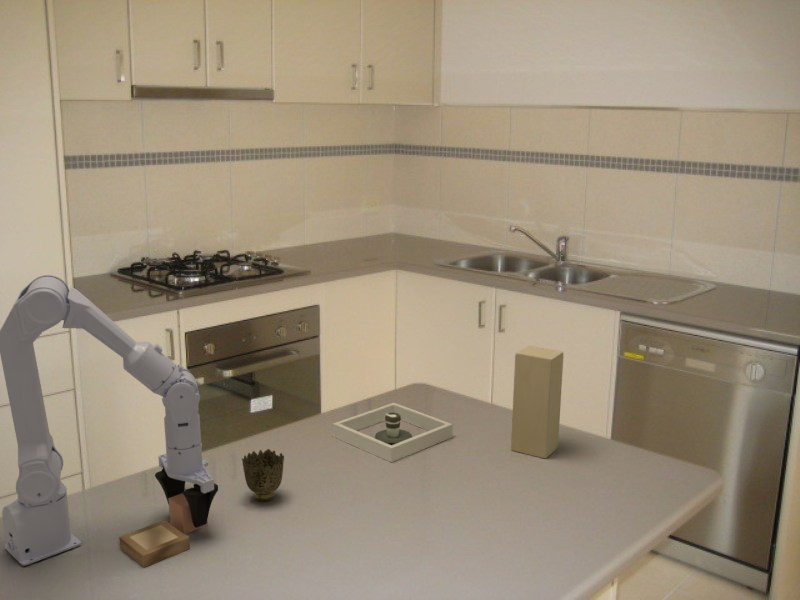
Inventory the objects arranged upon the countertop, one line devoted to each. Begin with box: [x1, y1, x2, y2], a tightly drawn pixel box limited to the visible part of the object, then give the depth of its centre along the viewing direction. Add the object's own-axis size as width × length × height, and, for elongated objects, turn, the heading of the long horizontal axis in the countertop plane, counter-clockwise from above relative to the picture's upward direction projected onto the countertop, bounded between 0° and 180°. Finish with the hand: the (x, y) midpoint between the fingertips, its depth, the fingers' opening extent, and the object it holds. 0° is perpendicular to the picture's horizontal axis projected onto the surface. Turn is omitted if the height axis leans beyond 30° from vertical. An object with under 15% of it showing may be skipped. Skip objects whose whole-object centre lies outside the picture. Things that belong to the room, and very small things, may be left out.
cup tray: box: [332, 402, 454, 463], centre depth 181 cm, size 18×18×3 cm
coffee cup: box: [375, 413, 412, 444], centre depth 181 cm, size 12×12×5 cm
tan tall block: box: [510, 345, 564, 459], centre depth 173 cm, size 8×7×21 cm
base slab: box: [118, 520, 191, 568], centre depth 137 cm, size 8×8×2 cm
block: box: [168, 493, 208, 535], centre depth 144 cm, size 4×4×5 cm
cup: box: [241, 448, 285, 502], centre depth 153 cm, size 8×7×8 cm
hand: (188, 517), depth 145 cm, fingers open, 7 cm apart
